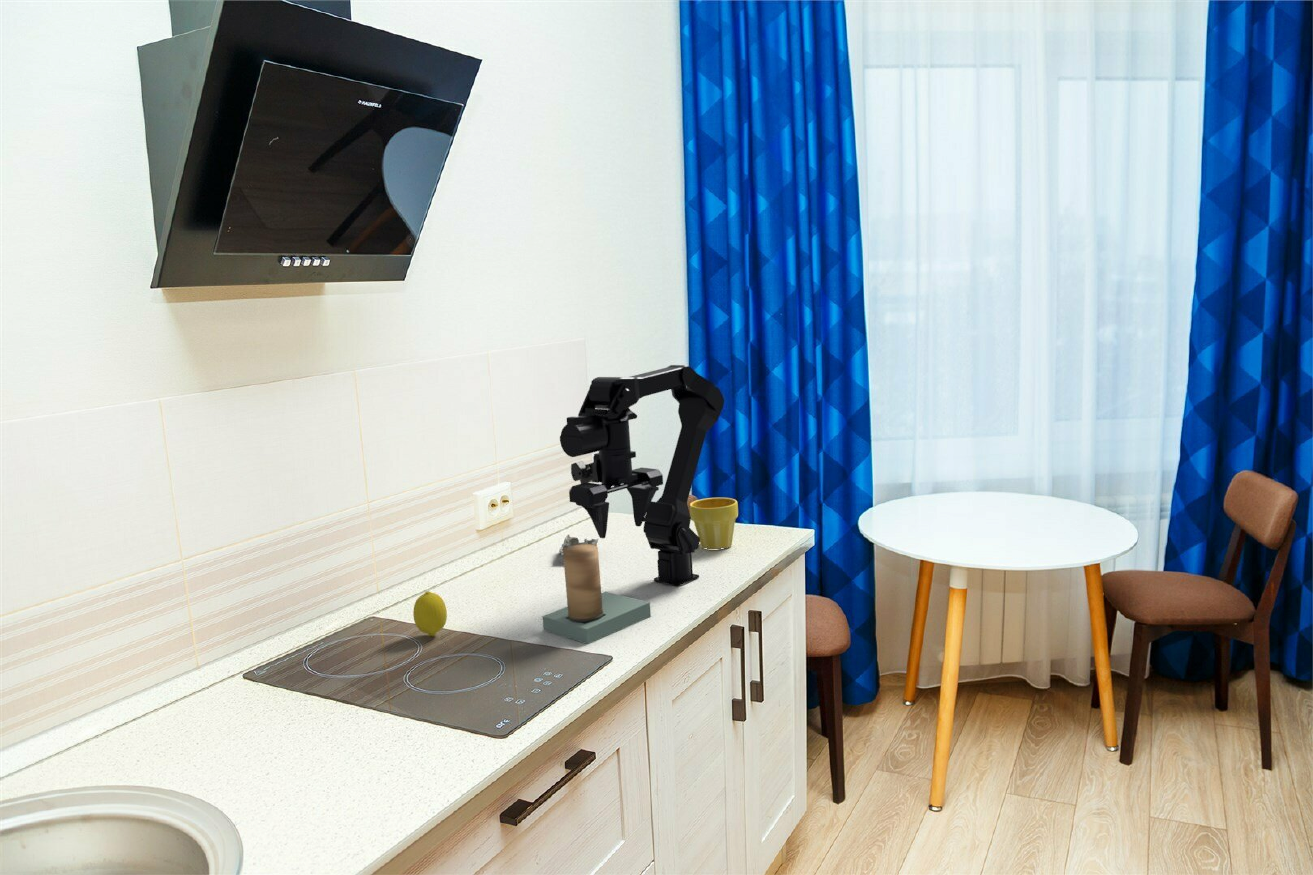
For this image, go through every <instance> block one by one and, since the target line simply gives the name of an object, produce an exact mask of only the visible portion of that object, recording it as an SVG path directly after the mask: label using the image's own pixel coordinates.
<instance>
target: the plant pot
mask: <svg viewBox="0 0 1313 875" xmlns="http://www.w3.org/2000/svg"><path fill="white" fill-rule="evenodd" d="M689 513H690V516H691V521H692V522H693V524H694V526H695V530H696V533H697V534H696V535H697V536H698V537H699V538H700V542H699V545H700V547H701V549H703V548H707V549H721V548H727V549H729V548H728V547H730V546H731V545H733V538H734V537H733V536H734V532H735V524H736V519H737V518H738V516H739V504H738V501H737V500H736V499H734V498H730V497H709V498H707V497H706V498H702V499H697V500H693V501H692V502H690V503H689ZM731 547H732V546H731ZM731 547H730V548H731Z"/></svg>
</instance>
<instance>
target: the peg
mask: <svg viewBox="0 0 1313 875" xmlns="http://www.w3.org/2000/svg"><path fill="white" fill-rule="evenodd" d="M563 558H564V563H563V566H564V567H563V568H564V579H565V589H566V590H565V592H566V603H567V607H568V619H569V620H570V621H572V622H577V623H583V624H586V623H589V622H593V621H596V620H599V619H601V618H602V617H603V608H602V595H601V593H602V584H601V573H600V572H601V571H600V560H599V548H598V545H597V546H595V545H589V544H582V545H574V546H570V547H567V548H565V549H564V550H563Z"/></svg>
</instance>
